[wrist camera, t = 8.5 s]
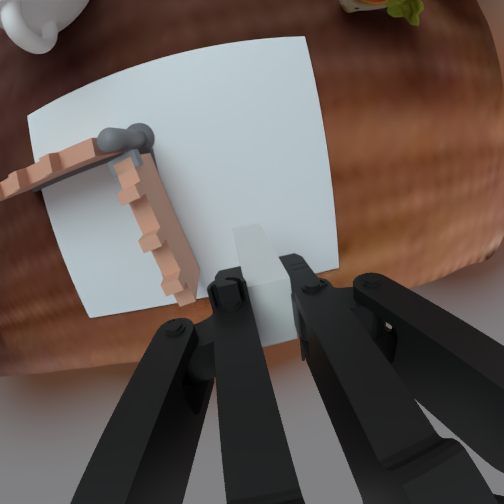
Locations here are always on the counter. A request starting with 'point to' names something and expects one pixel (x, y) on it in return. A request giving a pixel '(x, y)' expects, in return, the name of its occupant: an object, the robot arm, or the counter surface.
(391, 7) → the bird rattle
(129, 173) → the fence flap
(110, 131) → the fence fixed
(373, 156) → the counter surface
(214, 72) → the card
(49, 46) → the mug
